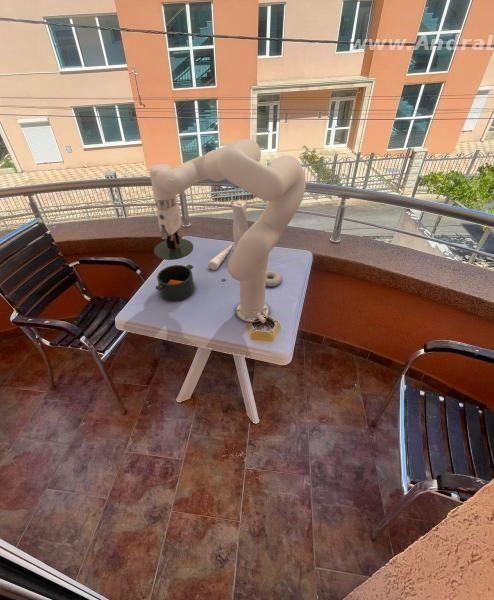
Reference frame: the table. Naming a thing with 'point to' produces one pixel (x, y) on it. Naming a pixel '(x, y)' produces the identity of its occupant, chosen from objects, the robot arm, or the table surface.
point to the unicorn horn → (218, 259)
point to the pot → (176, 290)
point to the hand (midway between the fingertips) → (173, 245)
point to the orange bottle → (174, 282)
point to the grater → (239, 220)
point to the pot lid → (172, 254)
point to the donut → (275, 276)
